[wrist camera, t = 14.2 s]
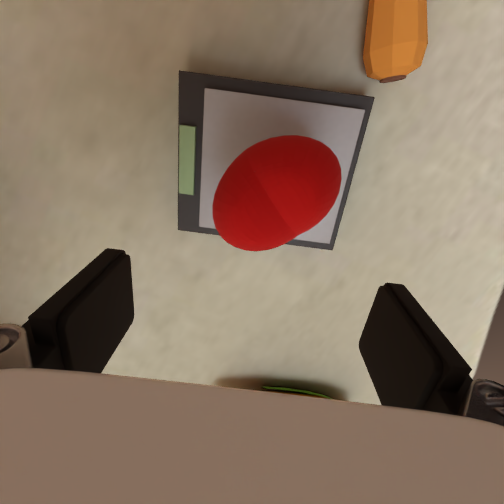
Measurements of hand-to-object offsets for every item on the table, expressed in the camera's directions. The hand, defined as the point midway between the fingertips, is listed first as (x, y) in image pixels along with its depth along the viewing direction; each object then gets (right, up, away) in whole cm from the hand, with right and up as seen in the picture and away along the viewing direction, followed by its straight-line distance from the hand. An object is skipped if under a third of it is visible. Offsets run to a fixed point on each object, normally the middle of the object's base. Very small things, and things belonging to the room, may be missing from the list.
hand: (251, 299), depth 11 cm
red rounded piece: (+2, +9, +15) cm, 18 cm away
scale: (+1, +10, +18) cm, 21 cm away
